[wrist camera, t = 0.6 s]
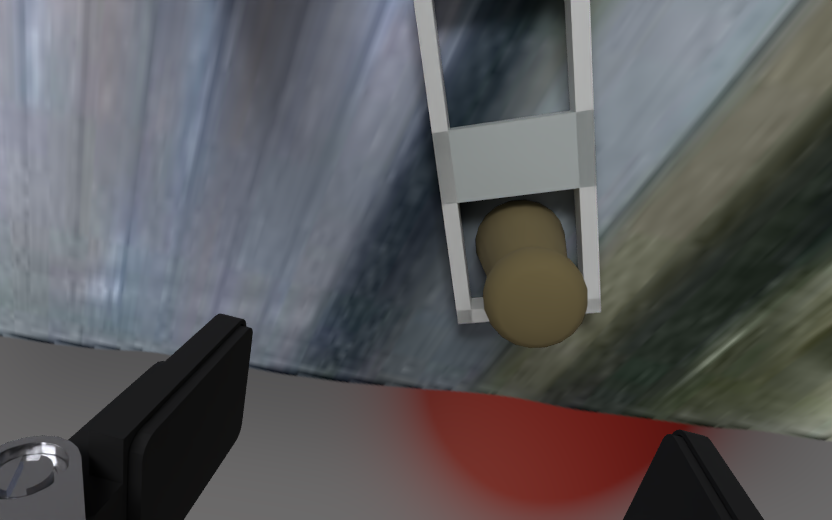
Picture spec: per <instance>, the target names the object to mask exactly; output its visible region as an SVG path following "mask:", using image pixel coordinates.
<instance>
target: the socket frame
mask: <svg viewBox="0 0 832 520" xmlns="http://www.w3.org/2000/svg"><path fill="white" fill-rule="evenodd" d="M564 4H565V24H566V44H567V63H568V83H569V103H570V110H569V111H562V112H556V113H549V114H542V115H535V116H529V117H522V118H515V119H508V120H501V121H495V122H488V123H481V124H474V125H468V126H461V127H454V128H450V125H449V117H448V109H447V101H446V93H445V85H444V77H443V69H442V62H441V54H440V46H439V38H438V30H437V22H436V14H435V6H434V0H414V7H415V14H416V21H417V29H418V36H419V43H420V50H421V58H422V65H423V72H424V79H425V87H426V94H427V101H428V108H429V116H430V123H431V130H432V137H433V145H434V152H435V159H436V166H437V174H438V181H439V188H440V195H441V203H442V210H443V217H444V224H445V231H446V239H447V246H448V253H449V260H450V268H451V275H452V282H453V289H454V297H455V304H456V311H457V318H458V324H466V323H478V322H489V319H488V317H487V315H486V313H485V310H484V300H483V297H477V298H471V291H470V283H469V275H468V267H467V259H466V251H465V244H464V236H463V228H462V220H461V212H460V204H459V203H462V202H470V201H478V200H486V199H494V198H503V197H511V196H519V195H527V194H535V193H543V192H551V191H559V190H567V189H574V201H575V221H576V241H577V260H578V269H579V271H580V272H581V274H582V276H583V278H584V281H585V284H586V286H587V289H588V305H587V310H586V313H597V312H601V297H600V270H599V242H598V214H597V186H596V158H595V131H594V103H593V75H592V47H591V19H590V0H564Z"/></svg>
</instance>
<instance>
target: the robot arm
mask: <svg viewBox="0 0 832 520" xmlns="http://www.w3.org/2000/svg"><path fill="white" fill-rule="evenodd" d="M252 335H253V331H252V328H249V327H246V321H245V320H244V319H240V318H236V317H232V316H228V315H224V314H218V315H216V316H215V317H214V318H213V319H212V320H211V321H209V322H208V323H207V324H206V325H205V326H204V327H203V328H202V329H201V330H199V331H198V332H197V333H196V334H195V335H194V336H193V337H192V338H191V339H189V340H188V341H187V342H186V343H185V344H184V345H183V346H182V347H181V348H179V349H178V350H177V351H176V352H175V353H174V354H173V355H172V356H171V357H169V358H168V359H167V360H166V361H161V362H157V363H156V364H154V365H153V366H152V367H151V368H150V369H148V370H147V371H146V372H145V373H144V374H143V375H141V376H140V378H138V379H137V380H136V381H135V382H134V383H132V384H131V385H130V386H129V387H128V388H127V389H126V390H124V391H123V392H122V393H121V394H120V395H119V396H118V397H116V398H115V399H114V400H113V401H112V402H111V403H110V404H108V405H107V406H106V407H105V408H104V409H103V410H102V411H101V412H99V413H98V414H97V415H96V416H95V417H94V418H93V419H91V420H90V421H89V422H88V423H87V424H86V425H85V426H84V427H82V428H81V429H80V430H79V431H78V432H77V433H76V434H75V435H73V436H72V437H71V438H70V439H69V440H66V439H63V438H60V437H55V436H33V437H26V438H21V439H18V440H15V441H10V442H7V443H5V444H3V445H1V446H0V520H184V518H185V517H186V515H187V514H188V512H189V511H190V509H191V508H192V506H193V505H194V503H195V502H196V500H197V499H198V497H199V496H200V494H201V493H202V491H203V490H204V488H205V487H206V485H207V484H208V482H209V481H210V479H211V478H212V476H213V475H214V473H215V472H216V470H217V469H218V467H219V466H220V464H221V463H222V461H223V460H224V458H225V457H226V455H227V454H228V452H229V451H230V449H231V447H232V446H233V445H234V443H235V441H236V440H237V438H238V435H239V433H240V430H241V425H242V418H243V411H244V402H245V394H246V385H247V376H248V369H249V360H250V352H251V344H252ZM623 520H764V519H763V517H762V516H761V514H760V513H759V512H758V510H757V509H756V507H755V506H754V504H753V503H752V501H751V500H750V498H749V497H748V495H747V494H746V492H745V491H744V489H743V488H742V486H741V485H740V483H739V482H738V481H737V479H736V477H735V476H734V475H733V473H732V472H731V470H730V469H729V467H728V466H727V464H726V463H725V461H724V460H723V458H722V457H721V455H720V454H719V452H718V451H717V449H716V448H715V446H714V445H713V443H712V442H711V441H710V439H709V438H708V437H705V436H703V435H699V434H695V433H691V432H687V431H683V430H676V431H675V432H673V434H667V435H666V436H665V437H664V438H663V440H662V442H661V444H660V446H659V448H658V450H657V452H656V454H655V457H654V458H653V460H652V462H651V464H650V466H649V468H648V471H647V472H646V474H645V476H644V478H643V480H642V482H641V485H640V486H639V488H638V491H637V493H636V495H635V497H634V499H633V501H632V503H631V505H630V507H629V509H628V511H627V513H626V515H625V517H624V519H623Z"/></svg>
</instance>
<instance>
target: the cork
mask: <svg viewBox="0 0 832 520" xmlns="http://www.w3.org/2000/svg"><path fill="white" fill-rule="evenodd" d="M476 252H477V255H478V257H479V259H480V262H481V264H482V266H483V269H484V271H485V273H486V276H487V279H486V282H485V286H484V289H483V300H484V310H485V313H486V315H487V317H488V319H489V322H490V324H491V325H492V326H493V328H494V329H495V330H496V331H497V332H498V333H499V334H500V335H501V336H502V337H503V338H505V339H507V340H508V341H510V342H512V343H514V344H515V345H520V346H524V347H528V348H541V347H548V346H551V345H554V344H557V343H560V342H562V341H563V340H565V339H566V338H568V337H569V336H571V335H572V334H573V333H574V332H575V331H576V329H577V328H578V327H579V326H580V324H581V323H582V321H583V319H584V316H585V313H586V310H587V305H588V289H587V286H586V284H585V281H584V278H583V276H582V274H581V272H580V271H579V269H578V268H577V267H576V266H575V265H574V263H573V262H572V261H571V260H570V259H569V258H567V251H566V242H565V233H564V230H563V228H562V225H561V222H560V220H559V219H558V218H557V217H556V215H555V214H554V213H553V212H552V211H551V210H550V209H548V208H547V207H545V206H543V205H542V204H540V203H537V202H533V201H529V200H515V201H509V202H507V203H504V204H502V205H499V206H497V207H496V208H494V209H493V210H492V211H491V212H490V213H488V214H487V215H486V216H485V218H484V219H483V221H482V223H481V224H480V226H479V228H478V232H477V236H476Z"/></svg>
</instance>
